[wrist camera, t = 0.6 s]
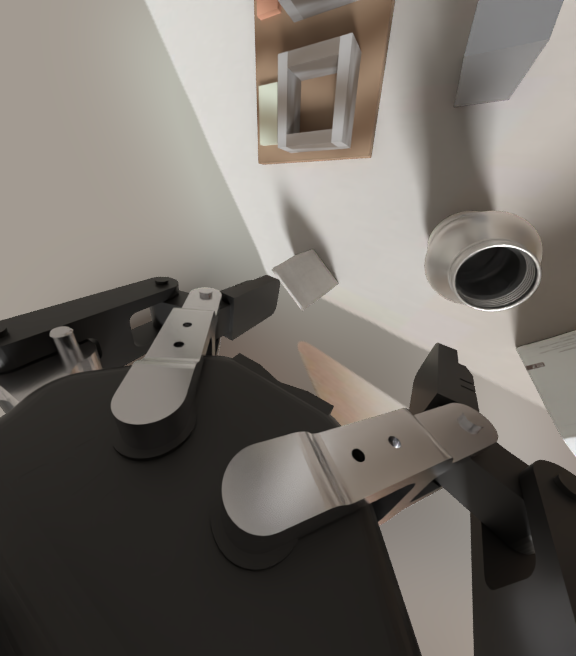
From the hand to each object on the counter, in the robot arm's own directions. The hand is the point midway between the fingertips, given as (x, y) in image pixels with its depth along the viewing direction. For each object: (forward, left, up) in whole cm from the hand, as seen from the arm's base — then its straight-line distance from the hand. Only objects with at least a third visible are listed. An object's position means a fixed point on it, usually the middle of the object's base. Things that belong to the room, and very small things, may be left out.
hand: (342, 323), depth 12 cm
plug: (-15, -9, -25) cm, 31 cm away
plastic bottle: (-6, +3, -25) cm, 26 cm away
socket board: (-6, -25, -25) cm, 36 cm away
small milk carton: (+11, -5, -25) cm, 28 cm away
